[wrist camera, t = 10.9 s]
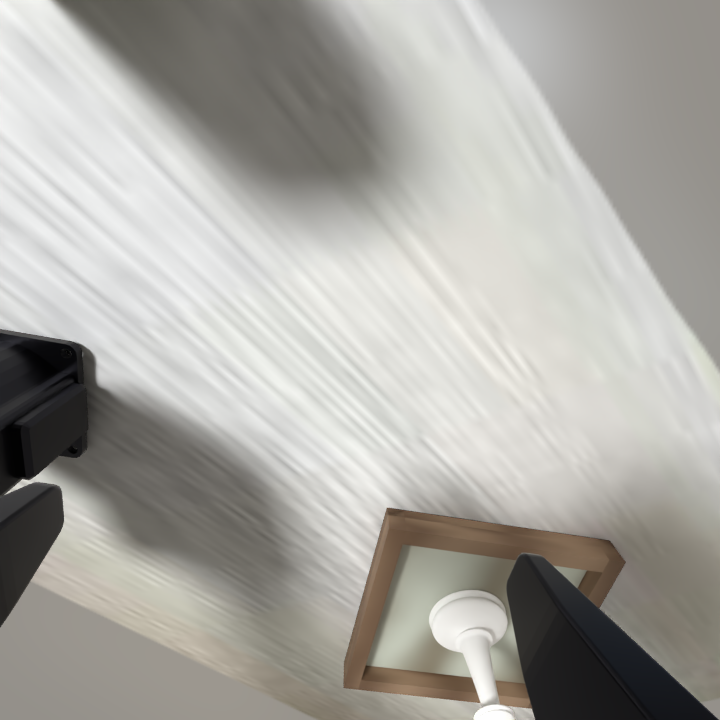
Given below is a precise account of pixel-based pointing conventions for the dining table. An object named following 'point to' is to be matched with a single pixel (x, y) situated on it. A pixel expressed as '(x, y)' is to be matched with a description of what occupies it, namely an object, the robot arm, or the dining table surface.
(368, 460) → the dining table surface
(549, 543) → the walnut tray
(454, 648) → the chess piece
